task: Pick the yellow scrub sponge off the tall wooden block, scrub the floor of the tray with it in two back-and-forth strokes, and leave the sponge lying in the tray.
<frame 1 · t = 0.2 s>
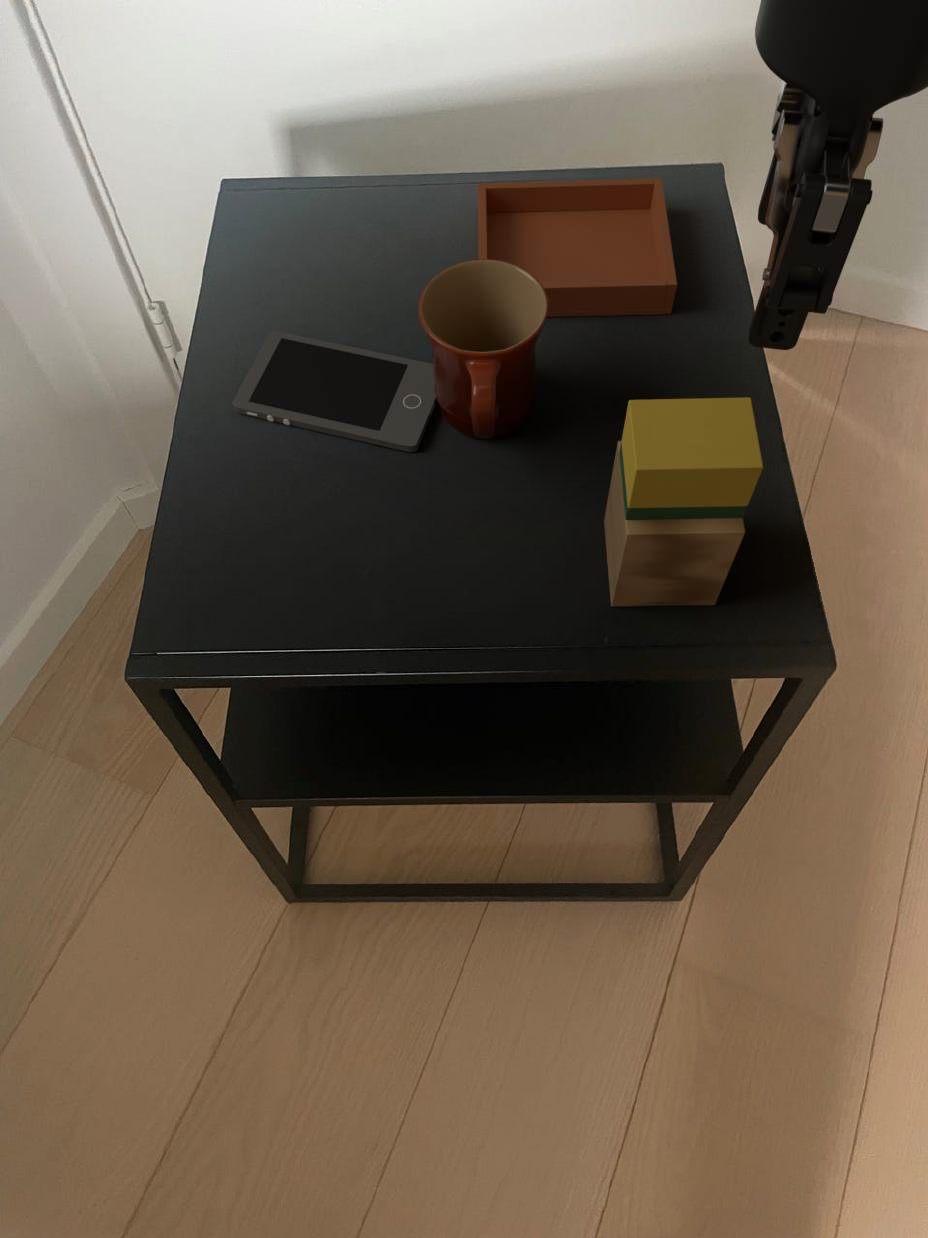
hand: (774, 279, 48), 22 cm above the table, tool pointing down, fingers open, 8 cm apart
tray: (570, 262, 80), on the table
mug: (485, 424, 72), on the table
sponge: (679, 484, 58), point 9 cm above the table, touching tall wooden block
tall wooden block: (658, 561, 66), on the table
smartphone: (340, 394, 74), on the table
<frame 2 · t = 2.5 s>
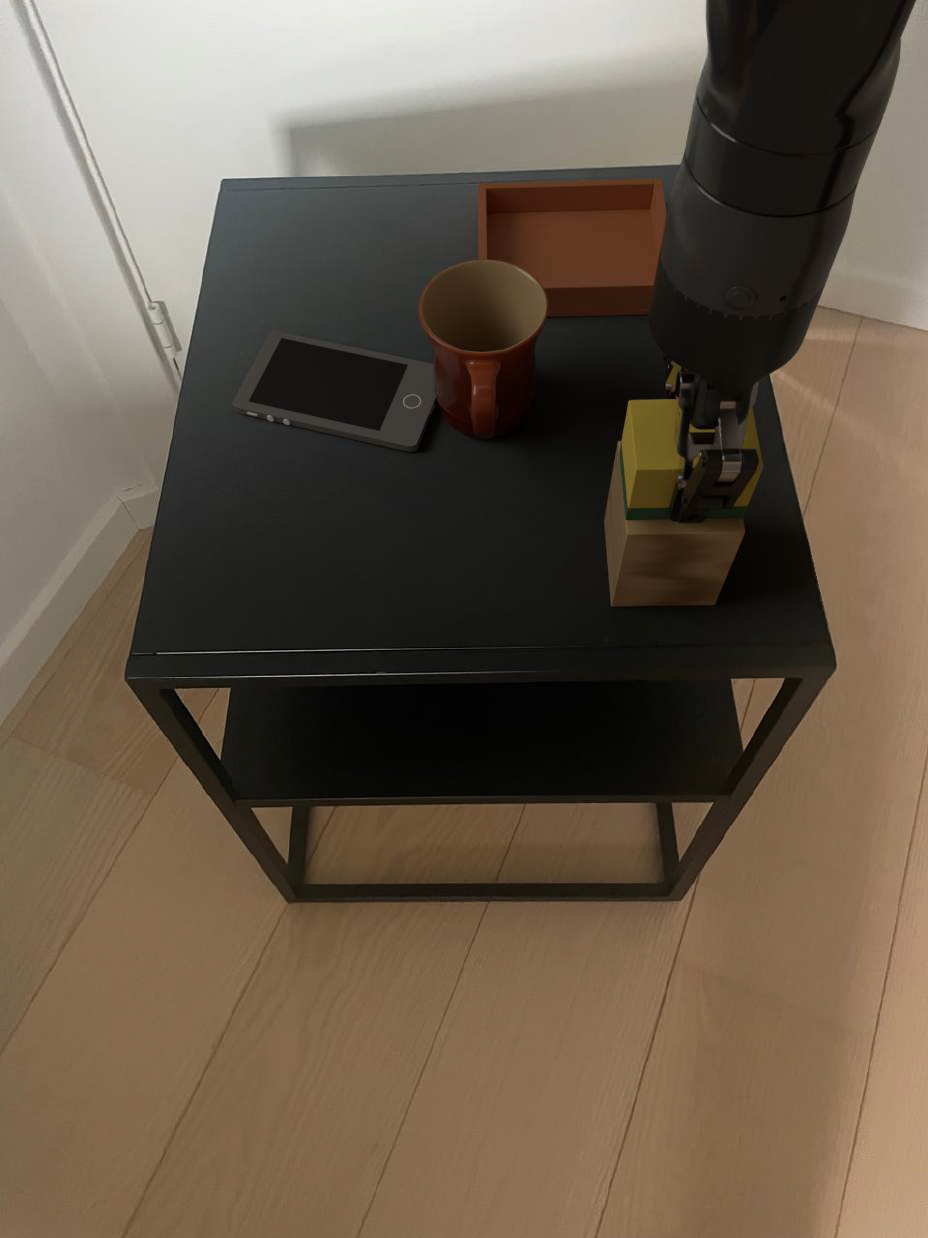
hand: (681, 476, 57), 10 cm above the table, tool pointing down, fingers closed on sponge, 5 cm apart
sponge: (679, 485, 58), point 9 cm above the table, touching gripper, tall wooden block
everything else where it was.
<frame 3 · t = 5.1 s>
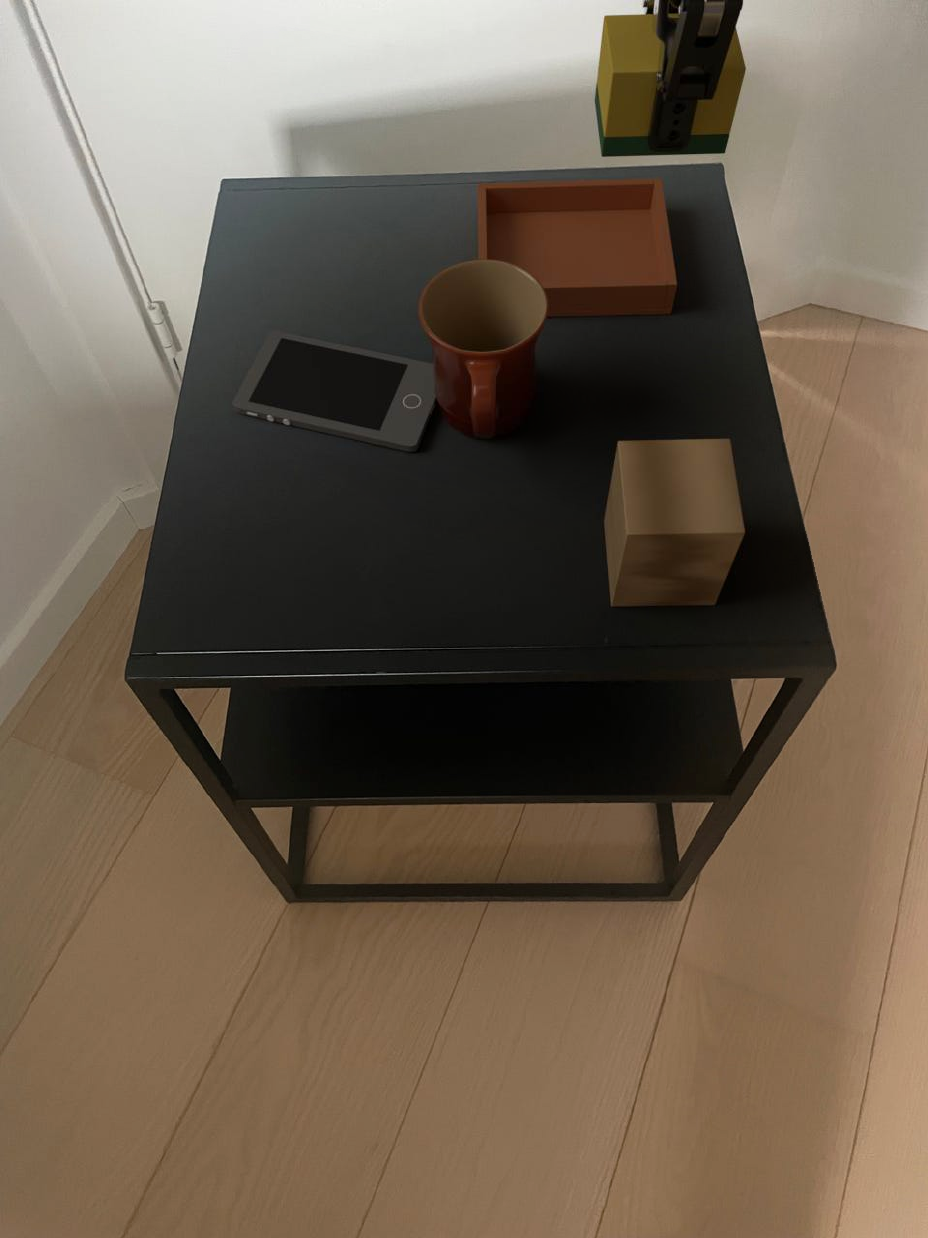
hand: (661, 113, 55), 22 cm above the table, tool pointing down, fingers closed on sponge, 5 cm apart
sponge: (658, 126, 55), point 21 cm above the table, touching gripper
everything else where it was.
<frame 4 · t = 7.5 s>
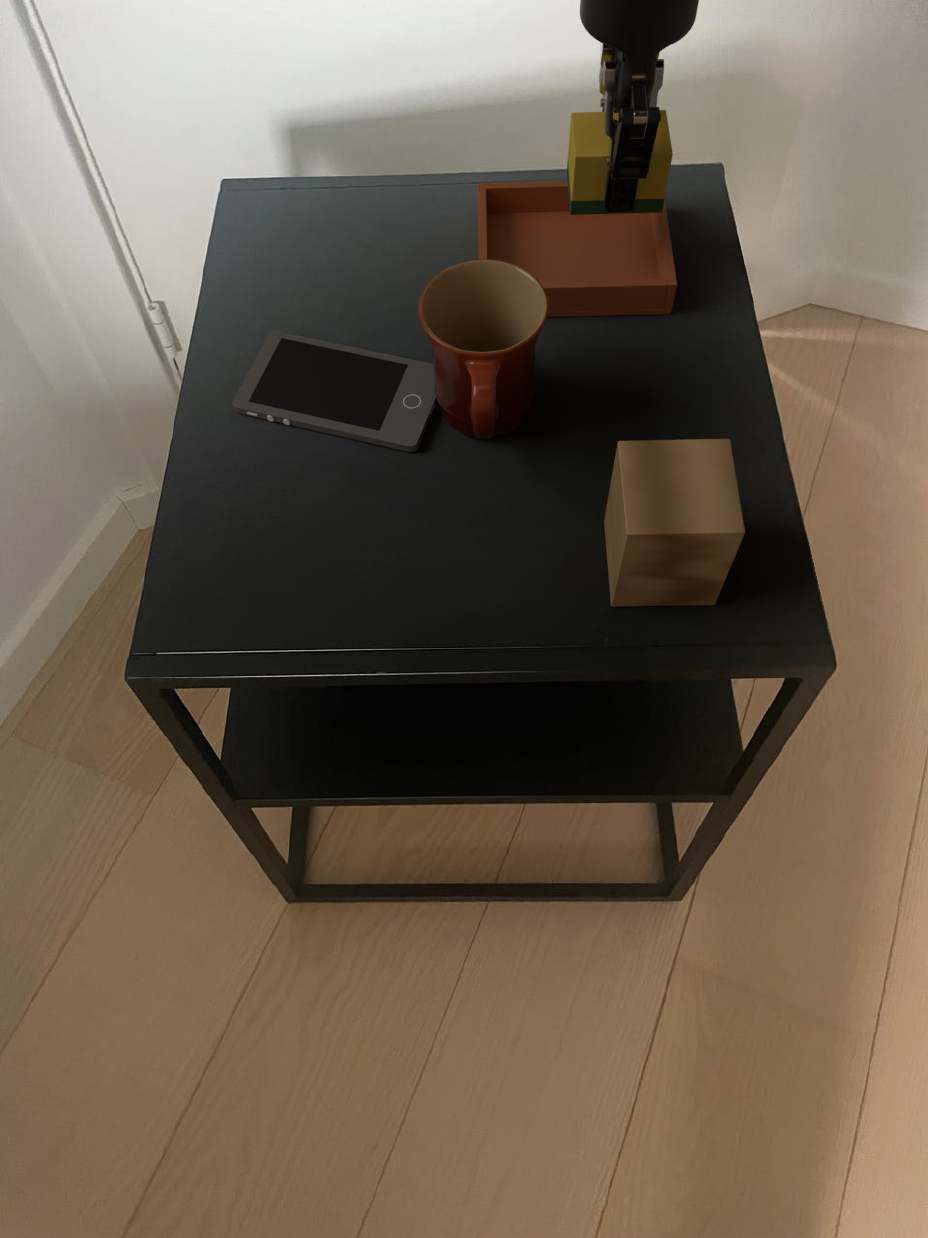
hand: (615, 182, 73), 8 cm above the table, tool pointing down, fingers closed on sponge, 5 cm apart
sponge: (613, 191, 74), point 7 cm above the table, touching gripper
everything else where it was.
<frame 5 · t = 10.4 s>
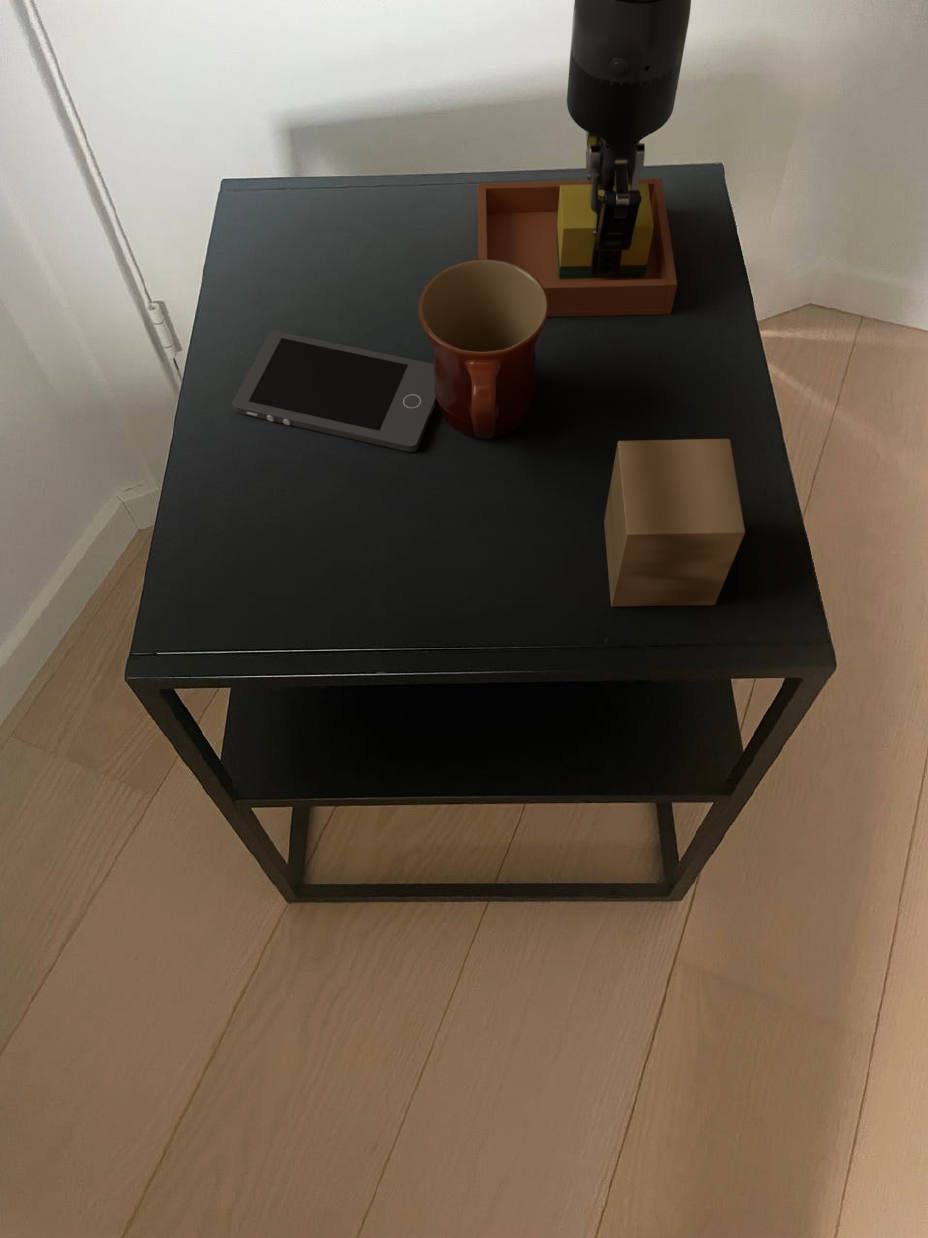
hand: (601, 248, 79), 1 cm above the table, tool pointing down, fingers closed on sponge, 5 cm apart
sponge: (599, 256, 79), point 1 cm above the table, touching gripper, tray
everything else where it was.
when the fingers open (1 cm above the table, at t = 12.7 s): sponge stays where it is, resting on tray.
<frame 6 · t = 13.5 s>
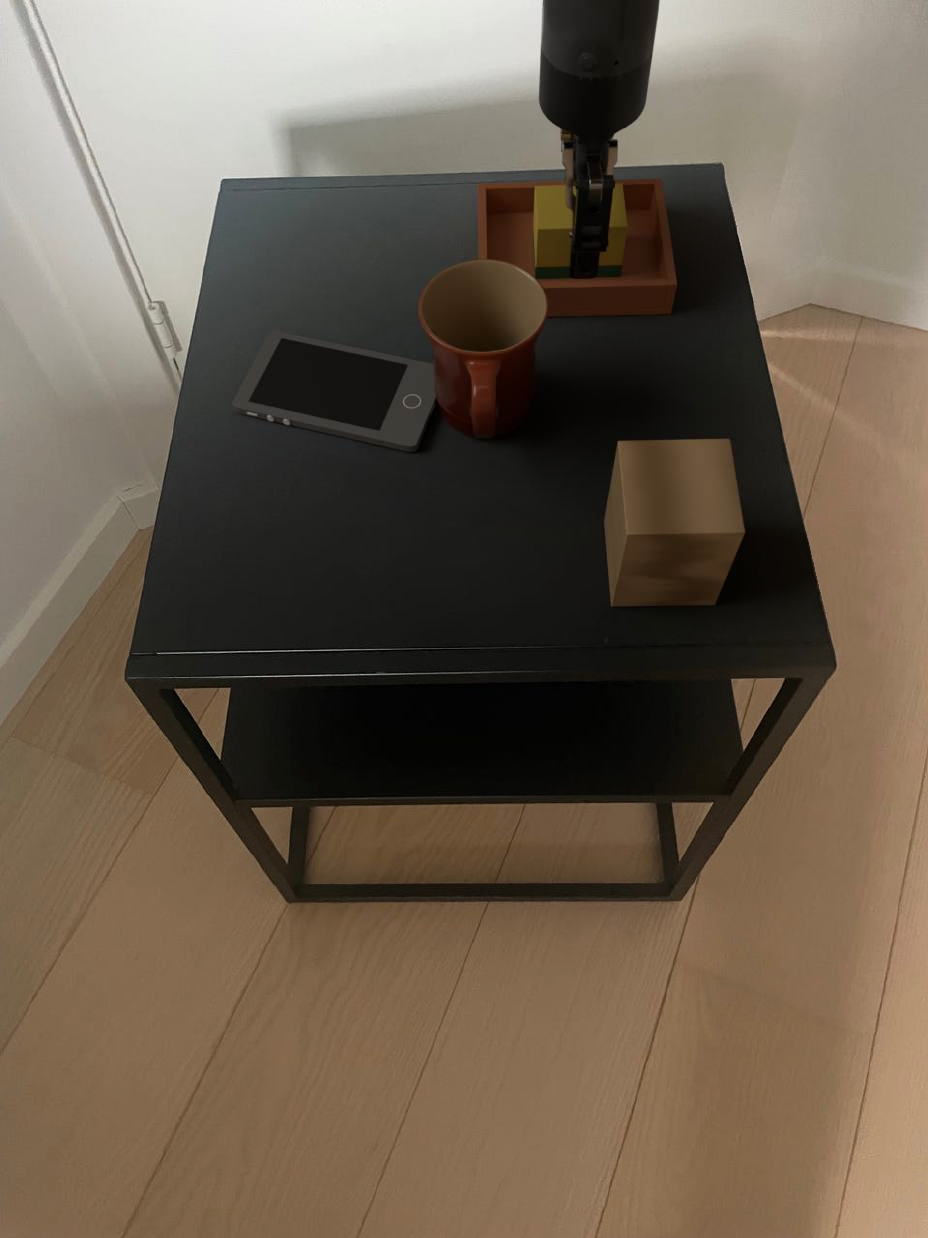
hand: (579, 238, 78), 2 cm above the table, tool pointing down, fingers open, 8 cm apart
sponge: (576, 256, 79), point 1 cm above the table, touching tray
everything else where it was.
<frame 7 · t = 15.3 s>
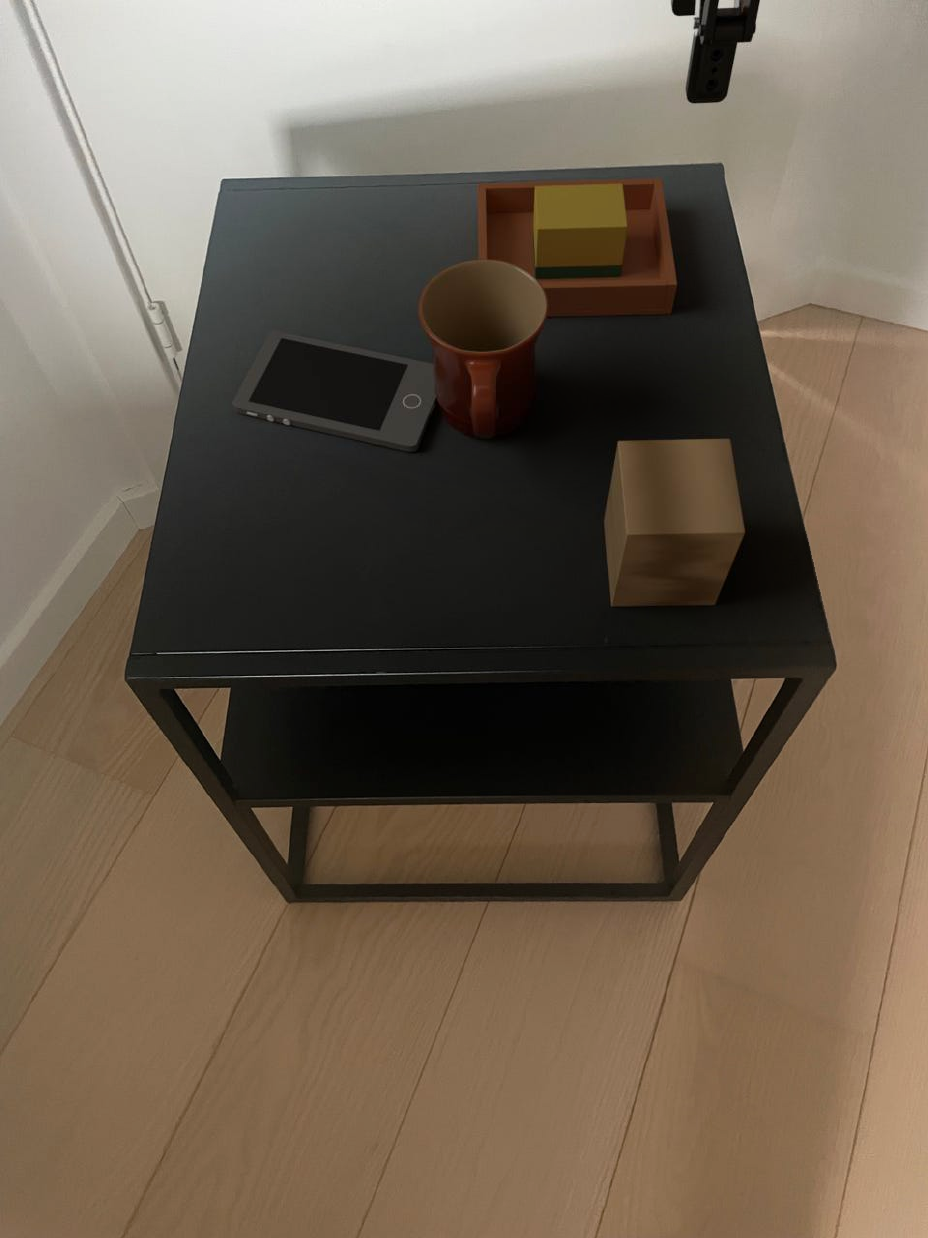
hand: (696, 53, 55), 23 cm above the table, tool pointing down, fingers open, 8 cm apart
nothing on the table moved.
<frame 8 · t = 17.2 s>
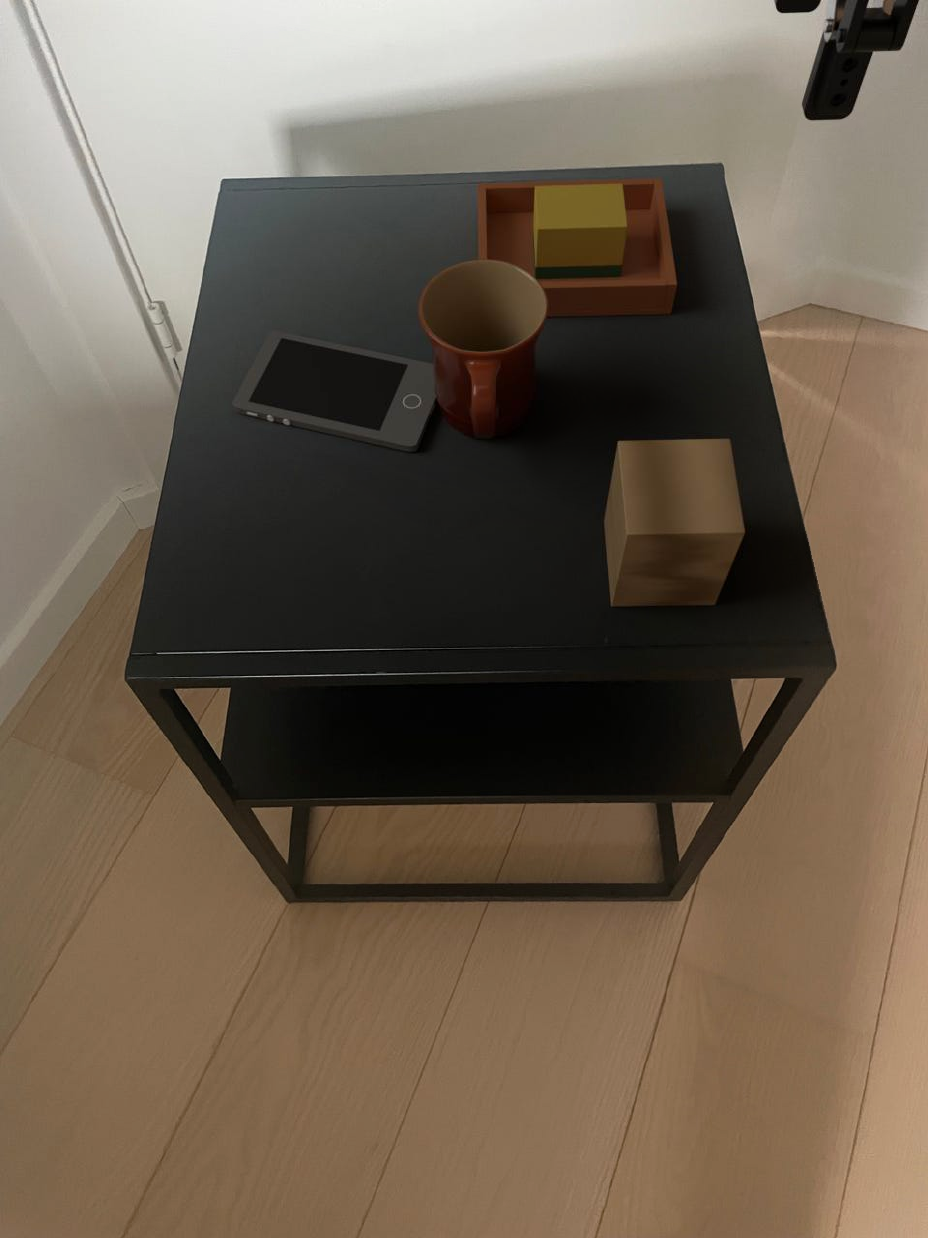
hand: (808, 59, 46), 28 cm above the table, tool pointing down, fingers open, 8 cm apart
nothing on the table moved.
at the end: sponge inside the target area in the tray (0.4 cm from its centre), point 0.6 cm above the tray's base; sponge moved 30.8 cm from its start; the gripper is holding nothing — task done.
